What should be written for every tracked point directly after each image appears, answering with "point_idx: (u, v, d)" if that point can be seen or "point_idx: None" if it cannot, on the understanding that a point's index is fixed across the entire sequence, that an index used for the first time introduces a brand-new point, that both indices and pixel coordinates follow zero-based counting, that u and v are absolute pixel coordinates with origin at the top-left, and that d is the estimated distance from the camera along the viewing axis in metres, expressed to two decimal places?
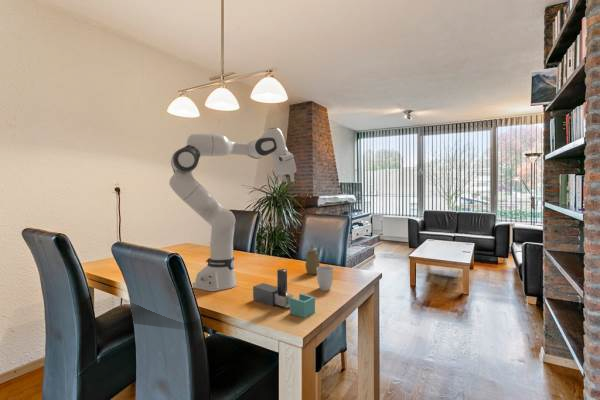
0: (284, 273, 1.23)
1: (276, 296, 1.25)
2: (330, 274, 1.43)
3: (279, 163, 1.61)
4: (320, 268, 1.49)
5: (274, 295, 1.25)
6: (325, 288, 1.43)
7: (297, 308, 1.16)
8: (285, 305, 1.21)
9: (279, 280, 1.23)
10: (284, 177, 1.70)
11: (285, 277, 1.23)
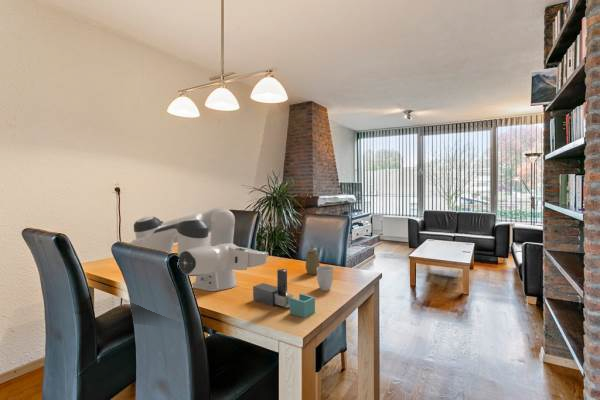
0: (284, 273, 1.23)
1: (276, 296, 1.25)
2: (330, 274, 1.43)
3: None
4: (320, 268, 1.49)
5: (274, 295, 1.25)
6: (325, 288, 1.43)
7: (297, 308, 1.16)
8: (285, 305, 1.21)
9: (279, 280, 1.23)
10: None
11: (285, 277, 1.23)
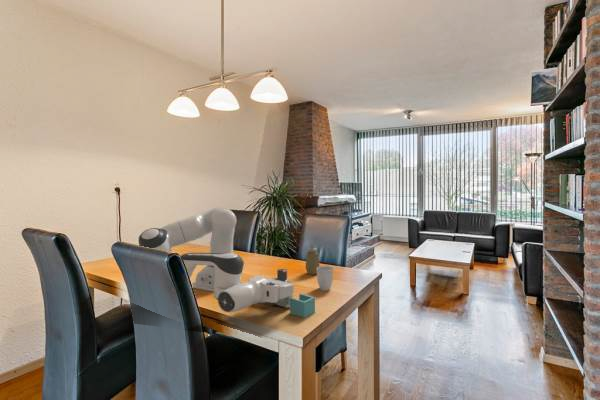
0: (284, 273, 1.23)
1: None
2: (330, 274, 1.43)
3: None
4: (320, 268, 1.49)
5: None
6: (325, 288, 1.43)
7: (297, 308, 1.16)
8: (285, 305, 1.21)
9: None
10: None
11: (285, 277, 1.23)
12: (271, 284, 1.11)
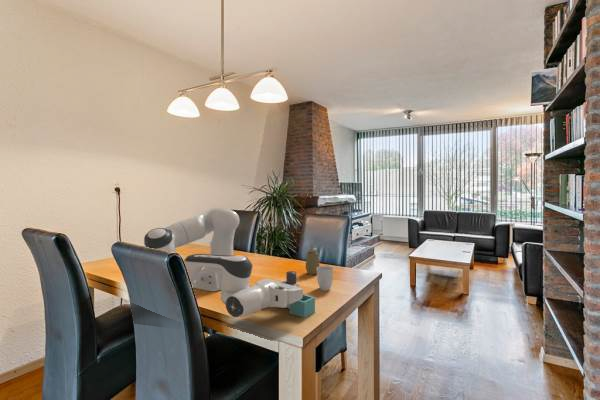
0: (293, 275, 1.20)
1: None
2: (330, 274, 1.43)
3: None
4: (320, 268, 1.49)
5: None
6: (325, 288, 1.43)
7: (297, 308, 1.16)
8: None
9: (288, 282, 1.20)
10: None
11: (294, 279, 1.20)
12: (280, 288, 1.07)
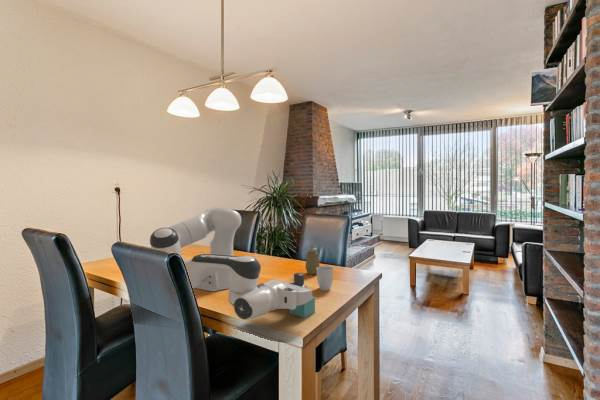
0: (301, 277, 1.17)
1: None
2: (330, 274, 1.43)
3: None
4: (320, 268, 1.49)
5: None
6: (325, 288, 1.43)
7: (297, 308, 1.16)
8: None
9: (296, 284, 1.17)
10: None
11: (302, 281, 1.18)
12: (289, 290, 1.05)
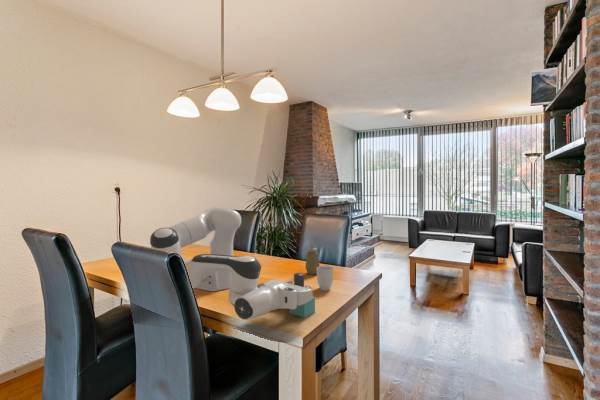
0: (301, 277, 1.17)
1: None
2: (330, 274, 1.43)
3: None
4: (320, 268, 1.49)
5: None
6: (325, 288, 1.43)
7: (297, 308, 1.16)
8: None
9: (296, 284, 1.17)
10: None
11: (302, 281, 1.18)
12: (289, 289, 1.05)
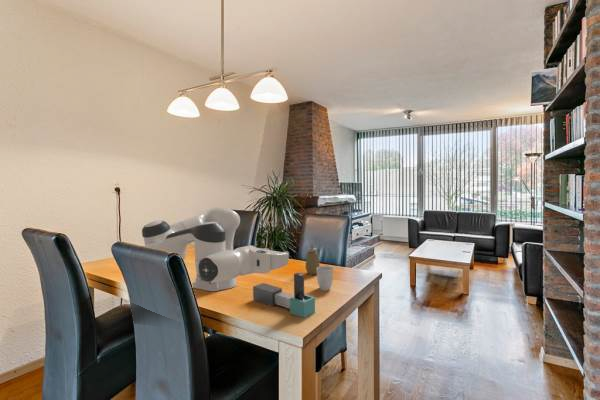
0: (301, 277, 1.17)
1: None
2: (330, 274, 1.43)
3: None
4: (320, 268, 1.49)
5: None
6: (325, 288, 1.43)
7: (297, 308, 1.16)
8: None
9: (296, 284, 1.17)
10: None
11: (302, 281, 1.18)
12: (262, 252, 0.94)
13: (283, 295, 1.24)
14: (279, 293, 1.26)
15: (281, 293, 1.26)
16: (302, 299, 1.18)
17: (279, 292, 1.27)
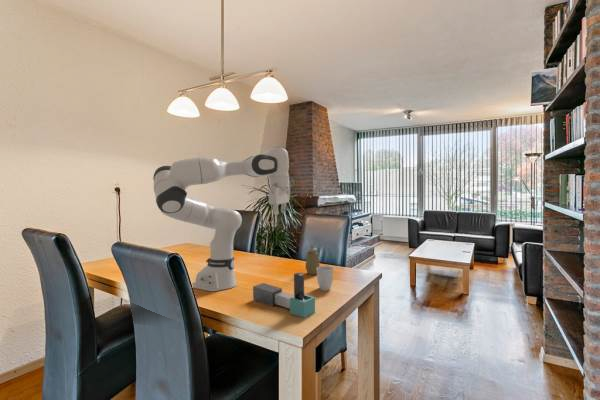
0: (301, 277, 1.17)
1: None
2: (330, 274, 1.43)
3: None
4: (320, 268, 1.49)
5: None
6: (325, 288, 1.43)
7: (297, 308, 1.16)
8: None
9: (296, 284, 1.17)
10: None
11: (302, 281, 1.18)
12: None
13: (283, 295, 1.24)
14: (279, 293, 1.26)
15: (281, 293, 1.26)
16: (302, 299, 1.18)
17: (279, 292, 1.27)
